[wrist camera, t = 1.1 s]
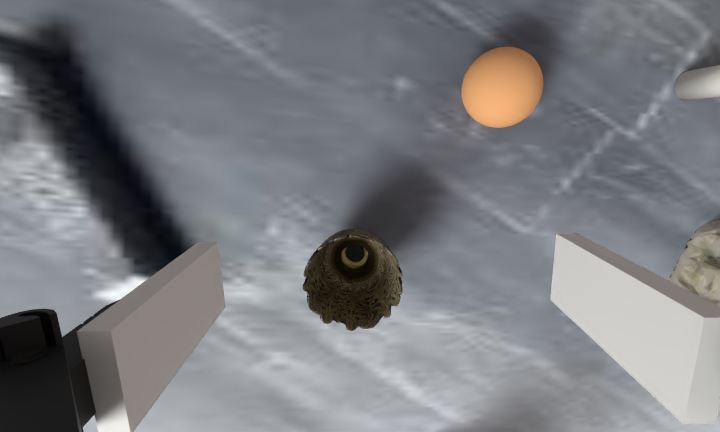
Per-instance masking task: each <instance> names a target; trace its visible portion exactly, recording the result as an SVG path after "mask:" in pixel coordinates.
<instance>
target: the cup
mask: <svg viewBox="0 0 720 432" xmlns="http://www.w3.org/2000/svg"><path fill="white" fill-rule="evenodd" d="M351 245H359V246H360V247H361V248H362V249H363V251H364V255H363V257H362V259H361V260H359V261H351V260H349V259H348V257H347V255H346V251H347V249H348V247H350V246H351ZM304 277H306V279H305V282H304V284H303V290H304V291H306V292H307V302H308V306H309V308H310V310H312V311H313V312H315V313H317V314H319V315H320V318H321V320H322V321H323V322H324V323H326V324H329V323H331V322H332V321H333V320H334V321H336V322H337V323H344V324H345V325H346V329H347V330H350V331H353V330H355V329H356V328H357V327H360V328H362V329H369V328H373V327H374V326H375V325H376V324H377V323H378V322H379V320H380V319H381V318H382V317H383V316H384V318H388V317H390V315H391V305H392V306H397V305H398V304H399V302H400V298H401V297H400V295H401V293H402V280H401V277H402V271H401V269H400V267H399V264H398V261H397V259H396V257H395V256H394V255H393V253H392V252H391V251H390V249H389V248H388V246H387V245H386V244H385V243H384V242H383V241H382V240H381V239H380V238H379V237H377V236H376V235H374V234H373V233H371V232H368V231H365V230H361V229H347V230H343V231H340V232H337V233H336V234H334V235H332V236H331V237H329V238H328V239H327V240H326V241H325V242H324V243H323V244H322V245H321V246H320V247H319V248H317V250H316V251H315V252H314V254H313V255H312V256H311V258H310V259H309V261H308V263H307V266H306V268H305V271H304ZM330 320H331V321H330Z"/></svg>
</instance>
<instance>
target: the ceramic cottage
mask: <svg viewBox="0 0 720 432" xmlns="http://www.w3.org/2000/svg"><path fill="white" fill-rule="evenodd" d="M691 239H692V240H691V241H689V242H688V243H687V245H688V247H687V248H686V249H685V250H684V252H683V253H682V255H681V257H680V259H679V263H677V266H676V267H675V271H673V272H672V273H671V274H672V276H670V278H669V281H670V282H672V283H674V284H676V285H678V286H680V287H682V288H684V289H686V290H688V291H690V292H692V293H694V294H696V295H698V296H700V297H702V298H703V299H705V300H707V301H709V302H711V303H713V304H715V305H717V306H719V307H720V220H717V221H712V222H709V223H707V224H705V225H703V226H702V227H700V228H699V229H697V230H696V232H695V233H694V234H693V235H692V237H691Z"/></svg>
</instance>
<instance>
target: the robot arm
mask: <svg viewBox="0 0 720 432" xmlns="http://www.w3.org/2000/svg"><path fill="white" fill-rule="evenodd" d="M550 300H551V301H552V302H553V303H554V304H555V305H557V306H558V307H559V308H560V309H561V310H562V311H563V312H564V313H565V314H566V315H567V316H568V317H569V318H570V319H571V320H573V321H574V322H575V323H576V324H577V325H578V326H579V327H580V328H581V329H582V330H583V331H584V332H585V333H586V334H588V335H589V336H590V337H591V338H592V339H593V340H594V341H595V342H596V343H597V344H598V345H599V346H600V347H601V348H603V349H604V350H605V351H606V352H607V353H608V354H609V355H610V356H611V357H612V358H613V359H614V360H615V361H616V362H617V363H619V364H620V365H621V366H622V367H623V368H624V369H625V370H626V371H627V372H628V373H629V374H630V375H631V376H632V377H634V378H635V379H636V380H637V381H638V382H639V383H640V384H641V385H642V386H643V387H644V388H645V389H646V390H647V391H648V392H650V393H651V394H652V395H653V396H654V397H655V398H656V399H657V400H658V401H659V402H660V403H661V404H662V405H663V406H665V407H666V408H667V409H668V410H669V411H670V412H671V413H672V414H673V415H674V416H675V417H676V418H677V419H678V420H680V421H681V422H682V423H683V424H716V422H717V417H718V413H719V408H720V307H719V306H717V305H715V304H713V303H711V302H709V301H707V300H705V299H703V298H702V297H700V296H698V295H696V294H694V293H692V292H690V291H688V290H686V289H684V288H682V287H680V286H678V285H676V284H674V283H672V282H670V281H668V280H666V279H664V278H663V277H661V276H659V275H657V274H655V273H653V272H651V271H649V270H647V269H645V268H643V267H641V266H639V265H637V264H635V263H633V262H631V261H629V260H627V259H626V258H624V257H622V256H620V255H618V254H616V253H614V252H612V251H610V250H608V249H606V248H604V247H602V246H600V245H598V244H596V243H594V242H592V241H590V240H589V239H587V238H585V237H583V236H581V235H579V234H577V233H571V234H557V235H556V246H555V256H554V266H553V277H552V287H551V297H550ZM224 308H225V299H224V291H223V282H222V273H221V265H220V256H219V248H218V242H198V243H197V244H195V245H194V246H193V247H191V248H190V249H188V250H187V251H186V252H184V253H183V254H182V255H180V256H179V257H178V258H176V259H175V260H173V261H172V262H171V263H169V264H168V265H167V266H165V267H164V268H163V269H161V270H160V271H159V272H157V273H156V274H154V275H153V276H152V277H150V278H149V279H148V280H146V281H145V282H144V283H142V284H141V285H139V286H138V287H137V288H135V289H134V290H133V291H131V292H130V293H129V294H127V295H126V296H124V297H123V298H122V299H120V300H118V301H116V302H114V303H111V304H109V305H107V306H105V307H104V308H102V309H101V310H100V311H98V312H97V313H96V314H94V316H91V317H90V318H89V319H87V320H86V321H84V323H83V324H80V325H79V326H77V327H76V328H75V329H73V330H72V331H70V332H69V333H68V334H66V335H65V336H63V337H62V335H61V331H60V327H59V322H58V318H57V313H56V312H55V311H54V310H50V309H34V310H28V311H23V312H18V313H15V314H12V315H8V316H5V317H2V318H0V432H83V426H84V425H85V424H86V423H87V422H88V421H89V420H90V419H91V418H92V416H93V415H94V414H95V418H96V423H97V428H98V432H134V430H135V429H136V427H137V426H138V425H139V423H140V422H141V421H142V419H143V418H144V417H145V415H146V414H147V413H148V411H149V410H150V408H151V407H152V406H153V404H154V403H155V402H156V400H157V399H158V398H159V396H160V395H161V394H162V392H163V391H164V390H165V388H166V387H167V385H168V384H169V383H170V381H171V380H172V379H173V377H174V376H175V375H176V373H177V372H178V371H179V369H180V368H181V366H182V365H183V364H184V362H185V361H186V360H187V358H188V357H189V356H190V354H191V353H192V352H193V350H194V349H195V347H196V346H197V345H198V343H199V342H200V341H201V339H202V338H203V337H204V335H205V334H206V333H207V331H208V330H209V328H210V327H211V326H212V324H213V323H214V322H215V320H216V319H217V318H218V316H219V315H220V314H221V312H222V311H223V309H224Z"/></svg>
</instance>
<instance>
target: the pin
mask: <svg viewBox="0 0 720 432" xmlns="http://www.w3.org/2000/svg"><path fill="white" fill-rule="evenodd" d="M674 91H675V94H676V95H677V97H678V98H680V99H682V100H693V99H702V98H711V97H720V65H716V66H711V67H706V68H701V69H696V70H691V71H686V72H684V73H682V74H681V75H680V76H679V77H678V78H677V80H676V82H675V85H674Z"/></svg>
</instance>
